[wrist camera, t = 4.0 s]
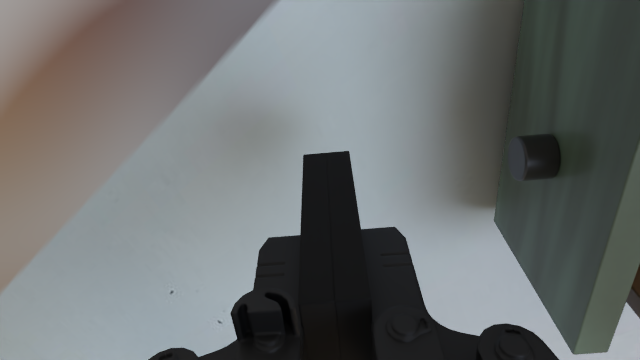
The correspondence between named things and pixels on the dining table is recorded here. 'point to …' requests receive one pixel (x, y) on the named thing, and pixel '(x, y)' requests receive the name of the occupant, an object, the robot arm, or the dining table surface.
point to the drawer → (576, 164)
